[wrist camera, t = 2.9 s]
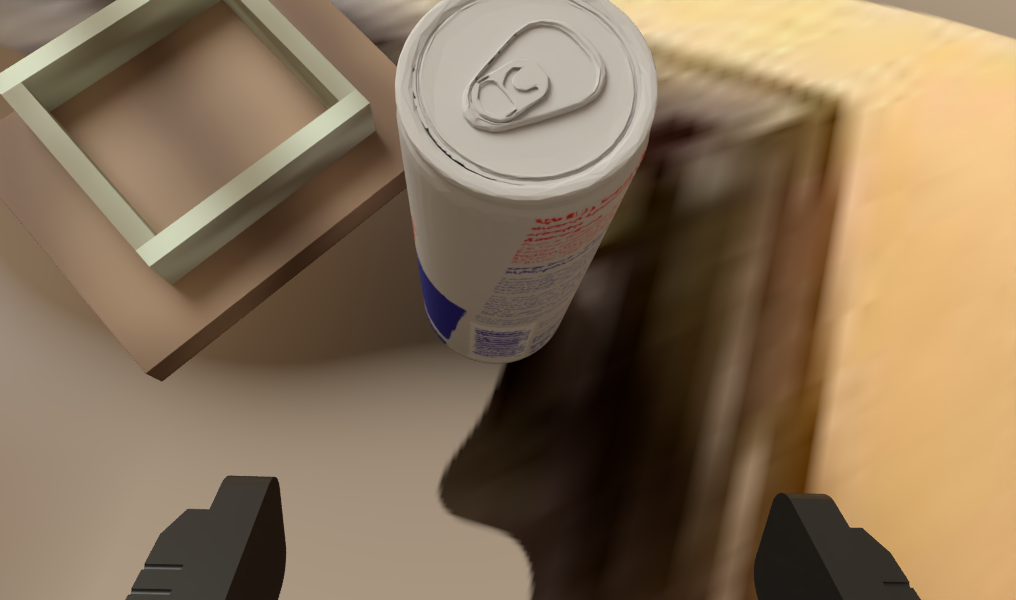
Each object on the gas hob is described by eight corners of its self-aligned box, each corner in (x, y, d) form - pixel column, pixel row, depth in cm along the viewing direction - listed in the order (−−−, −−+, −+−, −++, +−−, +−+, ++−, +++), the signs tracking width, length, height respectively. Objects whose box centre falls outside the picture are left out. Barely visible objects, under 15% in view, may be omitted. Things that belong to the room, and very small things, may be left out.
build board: (280, -31, 33) (261, -93, 30) (458, 145, 31) (458, 100, 28) (-18, 165, 29) (-79, 119, 26) (161, 381, 27) (120, 361, 24)
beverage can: (579, 255, 30) (691, 6, 16) (542, 384, 28) (630, 237, 14) (449, 216, 30) (442, -67, 16) (405, 342, 28) (350, 153, 14)
